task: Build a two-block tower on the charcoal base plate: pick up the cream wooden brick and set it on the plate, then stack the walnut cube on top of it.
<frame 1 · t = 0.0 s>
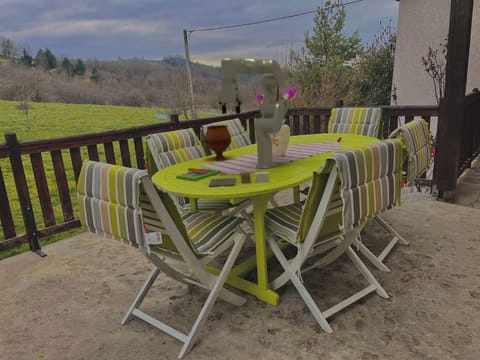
hand: (231, 113, 208), 37 cm above the table, tool pointing down, fingers open, 9 cm apart
base plate: (222, 183, 207), on the table
walnut cube: (246, 182, 206), on the table
toy blocks: (194, 176, 231), on the table
goblet: (219, 160, 275), on the table
cream brick: (262, 181, 206), on the table
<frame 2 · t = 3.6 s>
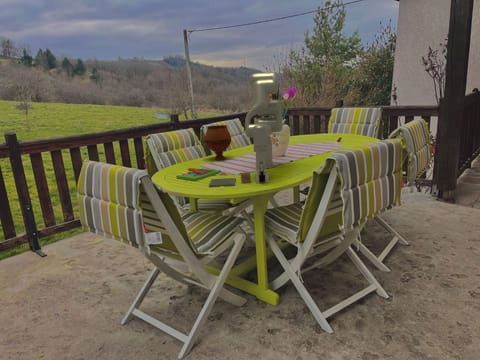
hand: (262, 180, 205), 1 cm above the table, tool pointing down, fingers closed on cream brick, 5 cm apart
cream brick: (262, 181, 206), on the table, touching gripper
everything else where it was.
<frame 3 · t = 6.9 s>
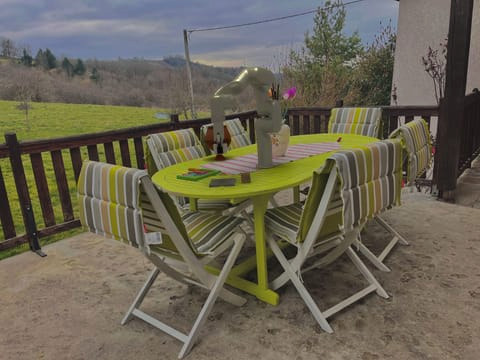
hand: (220, 152, 202), 17 cm above the table, tool pointing down, fingers closed on cream brick, 5 cm apart
cream brick: (220, 153, 202), point 17 cm above the table, touching gripper
everything else where it was.
when the fingers open (3 cm above the table, at t = 10.0 s): cream brick drops 1 cm, resting on base plate.
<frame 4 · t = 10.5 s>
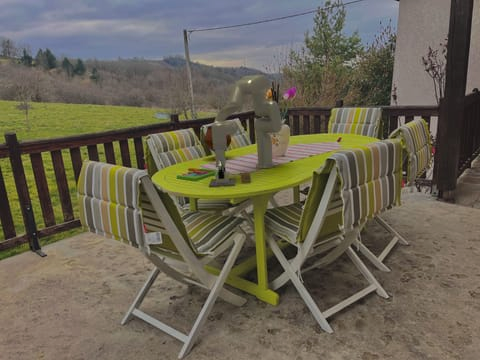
hand: (222, 176, 206), 4 cm above the table, tool pointing down, fingers open, 9 cm apart
cream brick: (222, 181, 206), point 1 cm above the table, touching base plate
everything else where it was.
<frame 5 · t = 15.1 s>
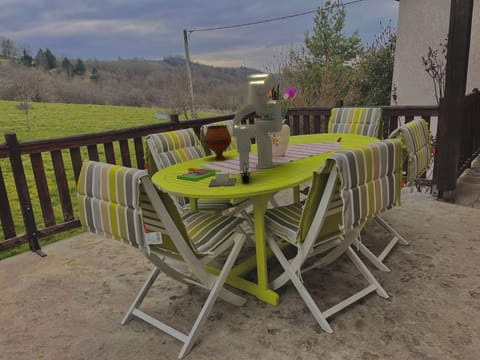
hand: (246, 181, 206), 0 cm above the table, tool pointing down, fingers closed on walnut cube, 5 cm apart
walnut cube: (246, 182, 206), on the table, touching gripper
everything else where it was.
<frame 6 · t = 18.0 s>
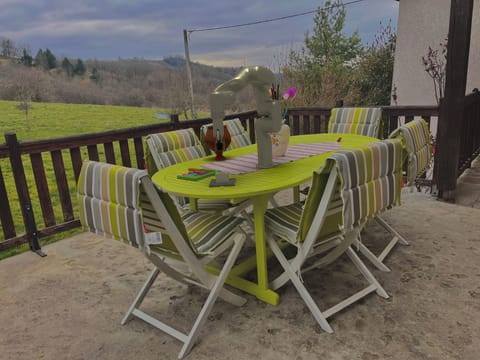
hand: (220, 149, 202), 19 cm above the table, tool pointing down, fingers closed on walnut cube, 5 cm apart
walnut cube: (220, 150, 202), point 19 cm above the table, touching gripper
everything else where it was.
when the fingers open (8 cm above the table, at t = 21.0 s): walnut cube drops 1 cm, resting on cream brick.
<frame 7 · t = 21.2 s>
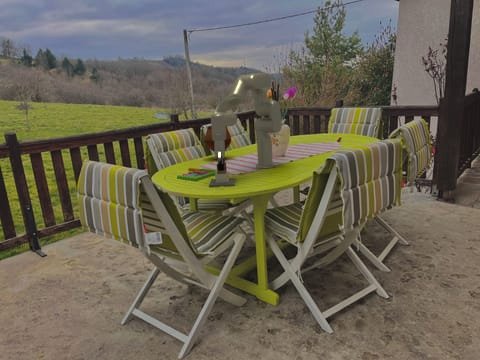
hand: (221, 168, 205), 8 cm above the table, tool pointing down, fingers open, 7 cm apart
walnut cube: (222, 172, 205), point 6 cm above the table, touching cream brick
cream brick: (222, 181, 206), point 1 cm above the table, touching base plate, walnut cube
everything else where it was.
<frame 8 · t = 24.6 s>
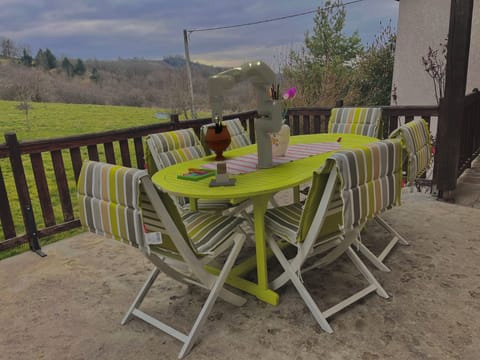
hand: (219, 132, 200), 28 cm above the table, tool pointing down, fingers open, 9 cm apart
nothing on the table moved.
at the end: cream brick inside the target area on the base plate (0.1 cm from its centre), point 1.0 cm above the base plate's base; walnut cube inside the target area on the base plate (0.0 cm from its centre), point 6.0 cm above the base plate's base; walnut cube tilted 0° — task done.
